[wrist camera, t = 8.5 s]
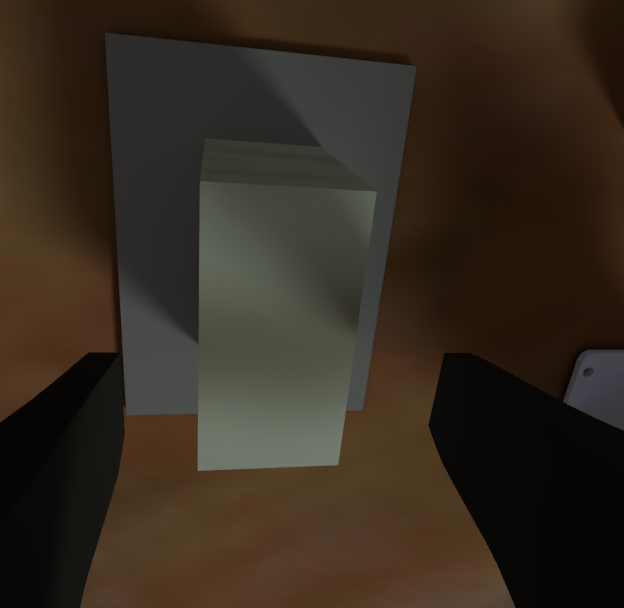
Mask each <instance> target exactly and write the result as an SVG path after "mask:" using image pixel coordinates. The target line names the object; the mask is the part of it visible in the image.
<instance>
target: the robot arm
mask: <svg viewBox="0 0 624 608" xmlns="http://www.w3.org/2000/svg"><path fill="white" fill-rule="evenodd" d="M587 368H588V369H587ZM585 369H587V370H586V371H585V372H584V370H585ZM429 428H430V431H431V434H432V437H433V440H434V442H435V445H436V448H437V450H438V453H439V455H440V458H441V461H442V463H443V465H444V467H445V469H446V471H447V472H448V474H449V476H450V478H451V480H452V482H453V484H454V485H455V487H456V489H457V491H458V493H459V495H460V496H461V498H462V500H463V502H464V504H465V505H466V507H467V509H468V511H469V512H470V514H471V516H472V518H473V520H474V521H475V523H476V525H477V527H478V529H479V530H480V532H481V534H482V536H483V538H484V540H485V541H486V543H487V545H488V547H489V549H490V551H491V553H492V555H493V557H494V559H495V561H496V563H497V565H498V567H499V570H500V572H501V574H502V577H503V579H504V581H505V584H506V586H507V588H508V591H509V593H510V595H511V598H512V600H513V602H514V605H515V607H516V608H624V350H586V351H584V352H582V353H581V354H580V355H579V357H578V359H577V362H576V364H575V367H574V370H573V373H572V376H571V379H570V382H569V385H568V388H567V391H566V394H565V397H564V400H563V402H562V401H560V400H558V399H557V398H555V397H553V396H551V395H549V394H547V393H545V392H543V391H541V390H540V389H538V388H536V387H534V386H532V385H531V384H529V383H527V382H525V381H523V380H521V379H520V378H518V377H516V376H514V375H512V374H511V373H509V372H507V371H505V370H503V369H501V368H500V367H498V366H496V365H494V364H492V363H490V362H488V361H486V360H484V359H482V358H480V357H478V356H475V355H473V354H470V353H444V357H443V362H442V366H441V371H440V375H439V380H438V385H437V389H436V394H435V398H434V403H433V407H432V412H431V416H430V421H429ZM124 435H125V429H124V412H123V395H122V378H121V361H120V353H88V354H87V355H85V356H84V357H83V358H82V359H80V360H79V361H78V362H77V363H76V364H74V365H73V366H72V367H71V368H70V369H69V370H67V371H66V372H65V373H64V374H63V375H61V376H60V377H59V378H58V379H57V380H55V381H54V382H53V383H52V384H50V385H49V386H48V387H47V388H46V389H44V390H43V391H42V392H41V393H39V394H38V395H37V396H36V397H34V398H33V399H32V400H31V401H29V402H28V403H26V404H25V405H24V406H22V407H21V408H20V409H18V410H17V411H15V412H14V413H13V414H11V415H10V416H9V417H7V418H6V419H4V420H3V421H2V422H0V608H80V605H81V600H82V595H83V591H84V588H85V584H86V580H87V576H88V572H89V569H90V566H91V563H92V559H93V556H94V553H95V549H96V546H97V543H98V540H99V536H100V533H101V530H102V527H103V523H104V520H105V517H106V514H107V510H108V507H109V504H110V500H111V497H112V494H113V490H114V487H115V483H116V480H117V477H118V472H119V466H120V460H121V454H122V448H123V441H124Z"/></svg>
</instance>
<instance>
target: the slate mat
mask: <svg viewBox="0 0 624 608" xmlns="http://www.w3.org/2000/svg"><path fill="white" fill-rule="evenodd" d="M105 45H106V63H107V81H108V98H109V116H110V134H111V151H112V169H113V187H114V204H115V222H116V240H117V257H118V275H119V293H120V310H121V328H122V345H123V363H124V381H125V398H126V415H159V414H198V364H199V227H200V176H201V168H202V159H203V151H204V143H205V138H207V139H220V140H234V141H247V142H261V143H275V144H288V145H302V146H315V147H323V148H324V149H325V150H326V151H327V152H329V153H330V154H331V155H332V156H334V157H335V158H336V159H337V160H339V161H340V162H341V163H342V164H343V165H345V166H346V167H347V168H348V169H350V170H351V171H352V172H353V173H355V174H356V175H357V176H358V177H359V178H361V179H362V180H363V181H364V182H366V183H367V184H368V185H369V186H371V187H372V188H373V189H374V190H375V191H377V193H376V200H375V207H374V214H373V221H372V229H371V236H370V243H369V250H368V257H367V264H366V271H365V278H364V285H363V292H362V299H361V306H360V313H359V320H358V327H357V335H356V342H355V349H354V356H353V363H352V370H351V377H350V384H349V391H348V398H347V405H346V411H353V410H363V404H364V398H365V392H366V385H367V379H368V373H369V367H370V360H371V354H372V348H373V341H374V335H375V329H376V322H377V316H378V310H379V303H380V297H381V291H382V284H383V278H384V272H385V265H386V259H387V253H388V246H389V240H390V234H391V227H392V221H393V215H394V209H395V202H396V196H397V190H398V183H399V177H400V171H401V164H402V158H403V152H404V145H405V139H406V133H407V126H408V120H409V114H410V107H411V101H412V95H413V88H414V82H415V76H416V69H417V66H411V65H402V64H393V63H383V62H374V61H365V60H356V59H346V58H337V57H328V56H318V55H309V54H300V53H291V52H281V51H272V50H263V49H253V48H244V47H235V46H226V45H216V44H207V43H198V42H188V41H179V40H170V39H161V38H151V37H142V36H133V35H123V34H114V33H105Z"/></svg>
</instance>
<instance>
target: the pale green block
mask: <svg viewBox="0 0 624 608" xmlns="http://www.w3.org/2000/svg"><path fill="white" fill-rule="evenodd" d="M376 193H377V191H375V190H374V189H373V188H372V187H371V186H369V185H368V184H367V183H366V182H364V181H363V180H362V179H361V178H359V177H358V176H357V175H356V174H355V173H353V172H352V171H351V170H350V169H348V168H347V167H346V166H345V165H343V164H342V163H341V162H340V161H339V160H337V159H336V158H335V157H334V156H332V155H331V154H330V153H329V152H327V151H326V150H325V149H324V148H323V147H315V146H302V145H288V144H275V143H261V142H247V141H234V140H220V139H207V138H205V143H204V151H203V159H202V168H201V176H200V227H199V364H198V471H204V470H228V469H252V468H276V467H301V466H325V465H338V462H339V455H340V448H341V440H342V433H343V426H344V419H345V412H346V405H347V398H348V391H349V384H350V377H351V370H352V363H353V356H354V349H355V342H356V335H357V327H358V320H359V313H360V306H361V299H362V292H363V285H364V278H365V271H366V264H367V257H368V250H369V243H370V236H371V229H372V221H373V214H374V207H375V200H376Z"/></svg>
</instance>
